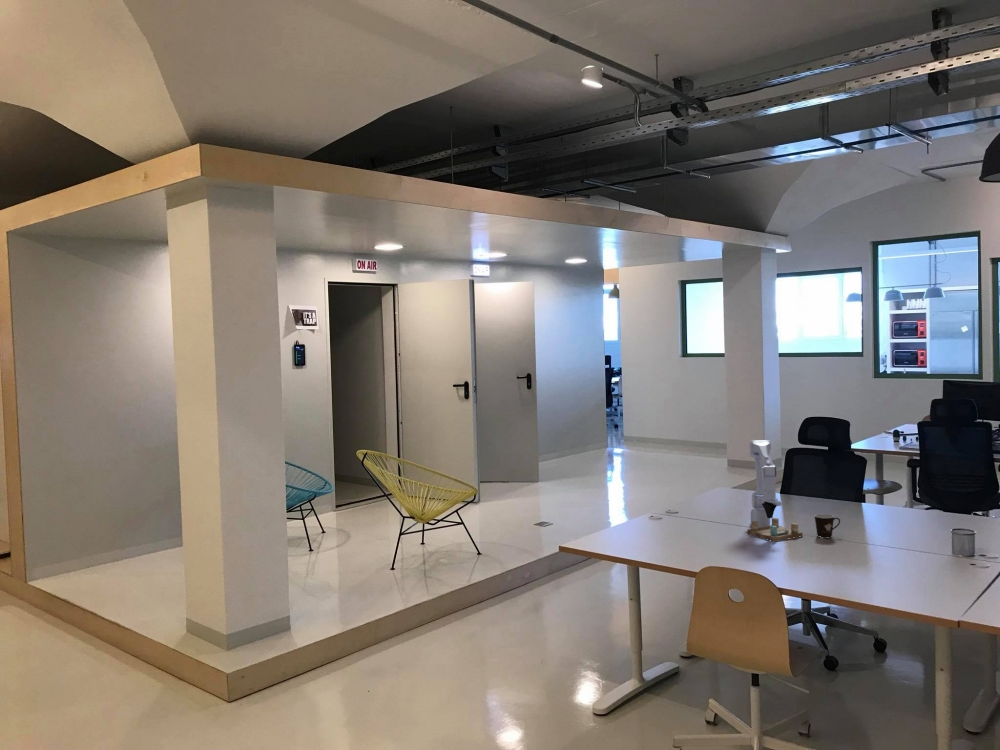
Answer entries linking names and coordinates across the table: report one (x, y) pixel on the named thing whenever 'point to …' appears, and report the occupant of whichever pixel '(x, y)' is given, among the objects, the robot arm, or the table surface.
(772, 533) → the folding leg
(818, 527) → the coffee mug
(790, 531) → the stool seat
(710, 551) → the table surface
